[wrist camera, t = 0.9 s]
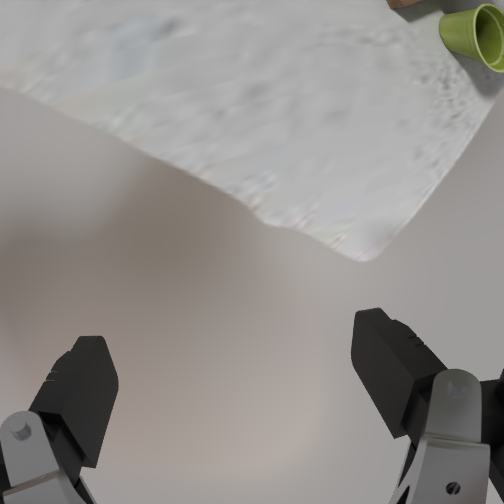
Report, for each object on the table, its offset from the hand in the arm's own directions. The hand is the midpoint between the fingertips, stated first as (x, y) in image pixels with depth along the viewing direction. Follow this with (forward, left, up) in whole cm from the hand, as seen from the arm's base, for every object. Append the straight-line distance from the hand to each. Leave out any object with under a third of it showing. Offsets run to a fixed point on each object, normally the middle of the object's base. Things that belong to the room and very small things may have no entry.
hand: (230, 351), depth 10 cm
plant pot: (+6, +38, -30) cm, 49 cm away
